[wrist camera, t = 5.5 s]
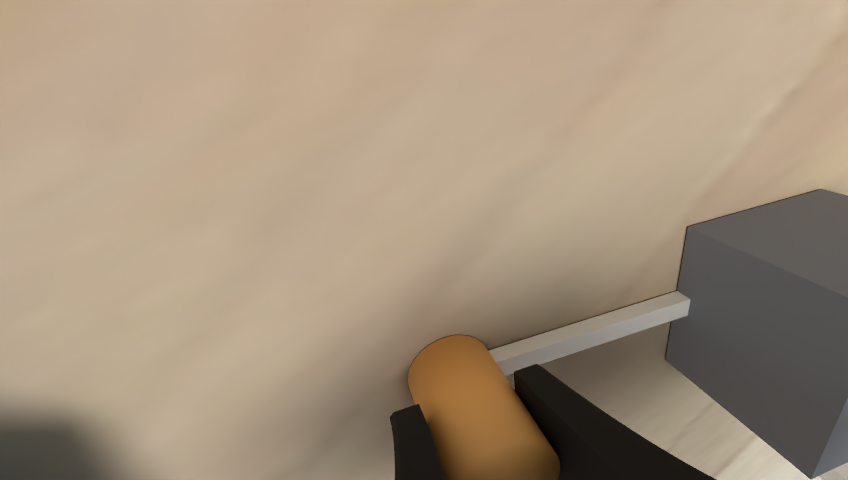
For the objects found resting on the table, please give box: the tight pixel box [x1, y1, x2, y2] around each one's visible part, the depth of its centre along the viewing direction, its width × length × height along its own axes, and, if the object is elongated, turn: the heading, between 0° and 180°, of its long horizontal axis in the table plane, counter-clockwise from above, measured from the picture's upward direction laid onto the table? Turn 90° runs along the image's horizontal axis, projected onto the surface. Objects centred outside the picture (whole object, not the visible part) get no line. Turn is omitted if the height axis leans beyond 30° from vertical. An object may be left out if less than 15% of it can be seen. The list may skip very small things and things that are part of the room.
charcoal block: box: [408, 189, 848, 480], centre depth 11 cm, size 5×14×4 cm, turn 97°
